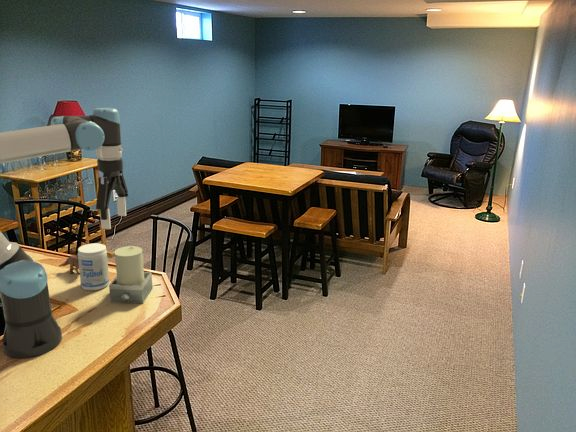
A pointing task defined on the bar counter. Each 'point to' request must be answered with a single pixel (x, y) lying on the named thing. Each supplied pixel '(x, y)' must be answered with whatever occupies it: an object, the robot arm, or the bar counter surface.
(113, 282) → the grey open box
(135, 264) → the can
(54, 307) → the bar counter surface
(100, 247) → the supplement tub
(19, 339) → the robot arm
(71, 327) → the bar counter surface
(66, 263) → the dinosaur figurine
